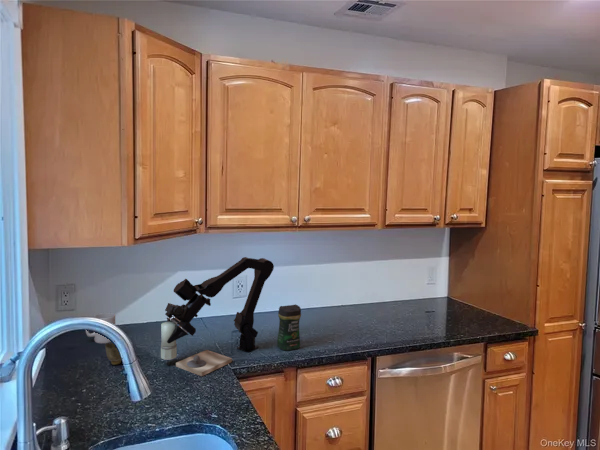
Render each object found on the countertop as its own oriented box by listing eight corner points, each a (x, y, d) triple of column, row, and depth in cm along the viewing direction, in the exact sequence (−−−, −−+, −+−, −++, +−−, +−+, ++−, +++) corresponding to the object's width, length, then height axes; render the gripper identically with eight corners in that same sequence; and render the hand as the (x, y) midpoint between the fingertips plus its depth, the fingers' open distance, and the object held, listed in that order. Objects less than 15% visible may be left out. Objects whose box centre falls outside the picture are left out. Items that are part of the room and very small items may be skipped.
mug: (112, 335, 199) (112, 311, 198) (118, 340, 193) (117, 316, 192) (83, 340, 192) (83, 316, 191) (88, 346, 185) (88, 321, 184)
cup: (120, 358, 175) (120, 338, 174) (130, 363, 170) (130, 343, 169) (101, 363, 169) (101, 343, 168) (111, 369, 165) (111, 348, 164)
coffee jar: (282, 352, 185) (283, 309, 183) (274, 346, 192) (275, 304, 190) (303, 348, 190) (304, 306, 188) (294, 342, 196) (295, 301, 194)
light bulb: (169, 352, 174) (169, 320, 173) (179, 356, 171) (179, 323, 170) (157, 357, 170) (157, 324, 168) (167, 361, 166) (167, 327, 165)
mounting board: (206, 353, 182) (206, 342, 181) (231, 361, 174) (232, 350, 174) (175, 366, 169) (175, 354, 168) (201, 376, 161) (201, 363, 160)
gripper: (169, 290, 178) (142, 321, 172) (187, 301, 163) (158, 336, 157) (188, 306, 183) (162, 337, 178) (207, 318, 168) (179, 352, 163)
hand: (165, 340), depth 169 cm, fingers closed on light bulb, 5 cm apart
